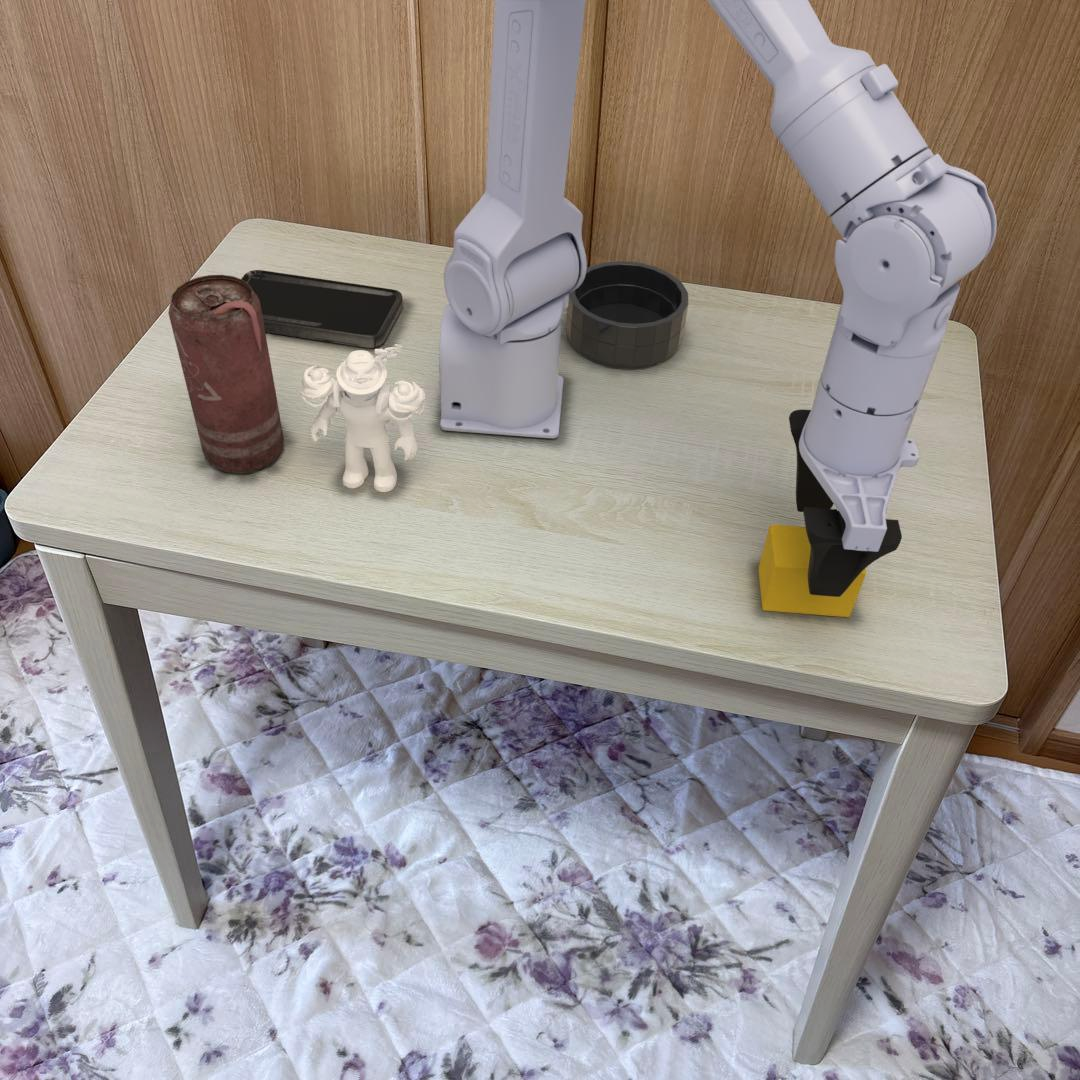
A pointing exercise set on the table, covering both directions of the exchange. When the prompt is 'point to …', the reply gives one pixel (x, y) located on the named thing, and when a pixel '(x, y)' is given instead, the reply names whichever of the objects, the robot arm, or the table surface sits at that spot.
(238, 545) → the table surface
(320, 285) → the phone
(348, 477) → the flower shoulder figurine
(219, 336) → the can
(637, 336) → the bowl
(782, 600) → the sponge
